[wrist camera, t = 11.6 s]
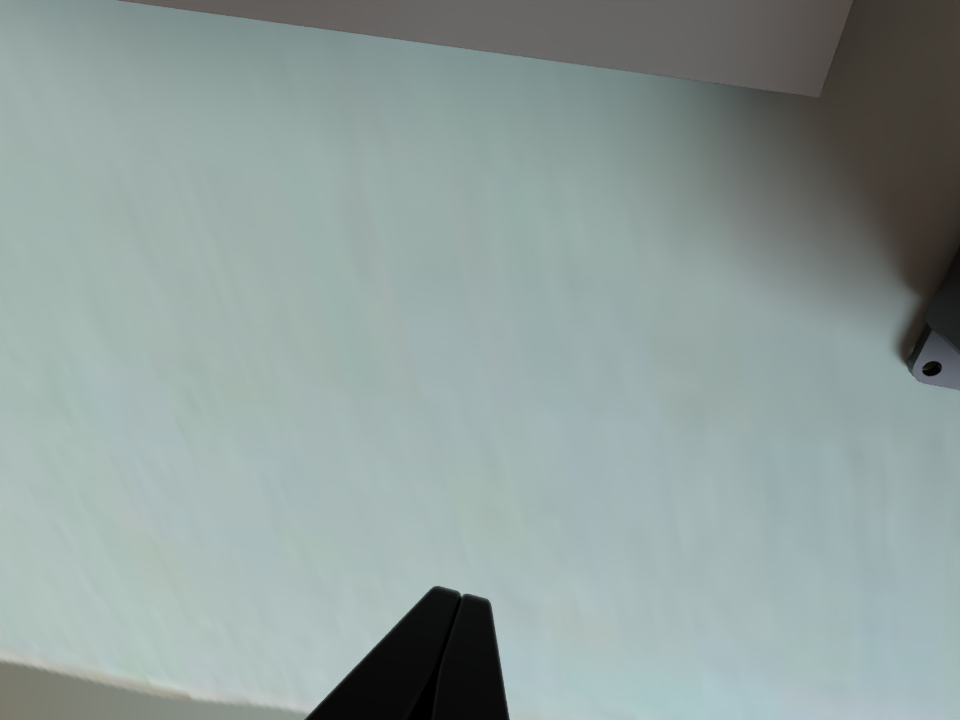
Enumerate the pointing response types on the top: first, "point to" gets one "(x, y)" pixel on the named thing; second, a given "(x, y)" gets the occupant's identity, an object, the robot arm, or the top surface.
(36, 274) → the top surface
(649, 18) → the panel
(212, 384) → the top surface
